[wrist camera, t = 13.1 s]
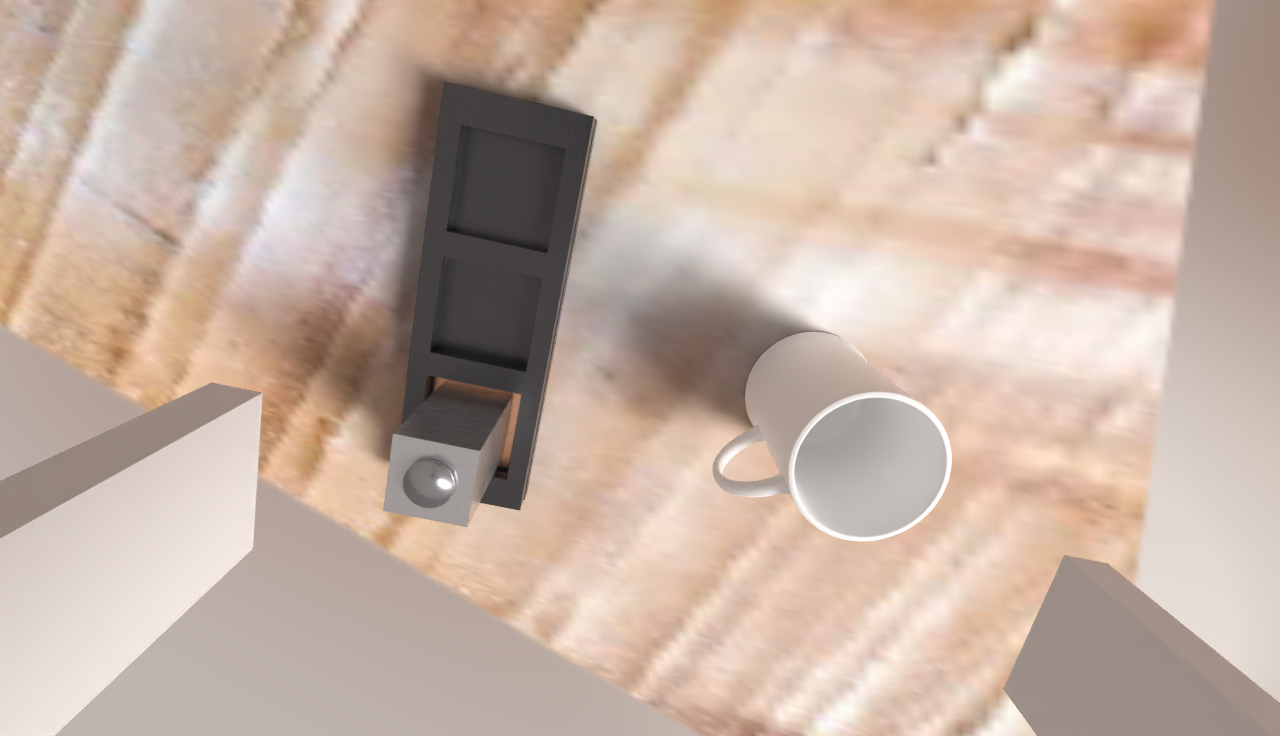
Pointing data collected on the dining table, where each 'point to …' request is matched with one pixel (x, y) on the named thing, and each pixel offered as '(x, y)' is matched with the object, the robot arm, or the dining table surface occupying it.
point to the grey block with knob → (447, 454)
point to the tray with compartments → (498, 261)
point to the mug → (840, 440)
